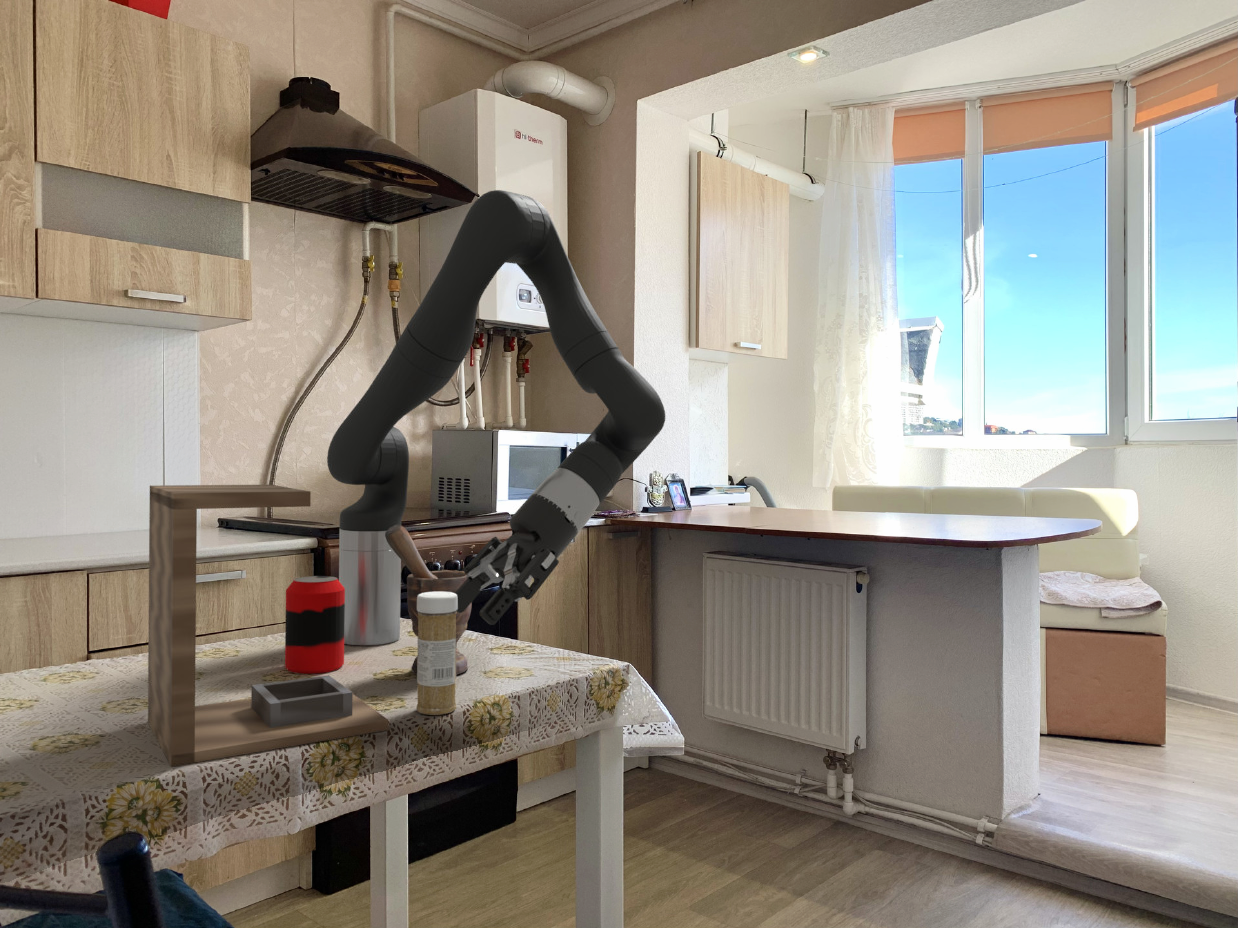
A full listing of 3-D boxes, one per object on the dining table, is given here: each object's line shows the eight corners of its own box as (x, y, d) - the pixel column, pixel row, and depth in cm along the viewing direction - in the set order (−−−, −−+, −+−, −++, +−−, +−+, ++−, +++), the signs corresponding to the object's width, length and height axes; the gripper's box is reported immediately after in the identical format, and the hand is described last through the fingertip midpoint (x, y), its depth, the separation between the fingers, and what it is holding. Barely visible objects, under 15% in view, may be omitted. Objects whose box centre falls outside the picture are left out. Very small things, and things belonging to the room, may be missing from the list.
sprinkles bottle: (454, 703, 106) (456, 589, 106) (457, 715, 102) (459, 596, 101) (414, 705, 105) (416, 590, 105) (416, 717, 100) (417, 597, 100)
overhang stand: (147, 721, 97) (149, 485, 97) (342, 694, 109) (344, 483, 109) (171, 766, 84) (173, 493, 84) (389, 729, 96) (392, 490, 96)
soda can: (352, 661, 126) (353, 575, 125) (329, 675, 118) (331, 584, 118) (300, 659, 126) (301, 574, 126) (274, 673, 119) (275, 582, 119)
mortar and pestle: (422, 688, 113) (424, 528, 112) (374, 677, 117) (376, 524, 117) (483, 669, 122) (486, 522, 122) (437, 660, 127) (439, 519, 127)
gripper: (509, 489, 116) (424, 584, 110) (567, 495, 104) (475, 602, 98) (544, 529, 119) (463, 624, 113) (604, 538, 107) (518, 645, 101)
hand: (469, 613), depth 105 cm, fingers open, 8 cm apart
